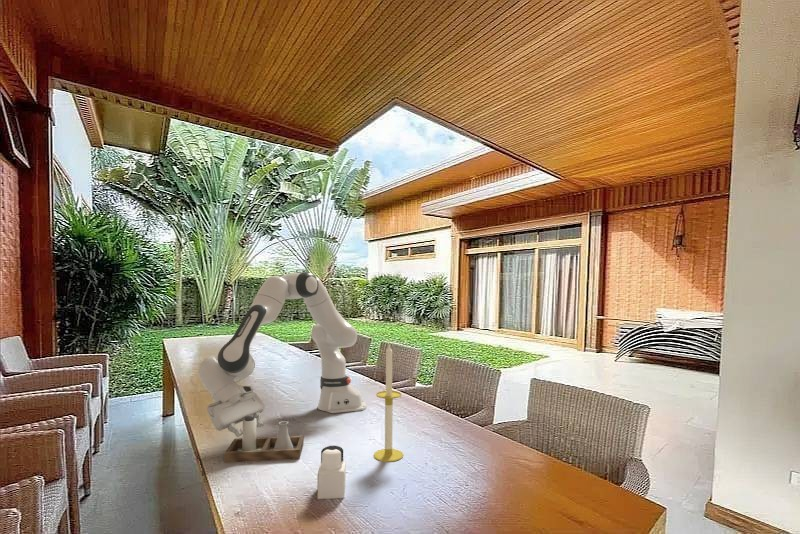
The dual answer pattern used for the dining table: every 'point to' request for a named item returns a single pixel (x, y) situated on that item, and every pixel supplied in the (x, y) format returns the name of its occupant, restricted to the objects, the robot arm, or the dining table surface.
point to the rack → (263, 450)
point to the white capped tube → (249, 433)
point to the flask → (283, 437)
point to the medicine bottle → (331, 473)
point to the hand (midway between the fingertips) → (250, 430)
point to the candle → (388, 415)
